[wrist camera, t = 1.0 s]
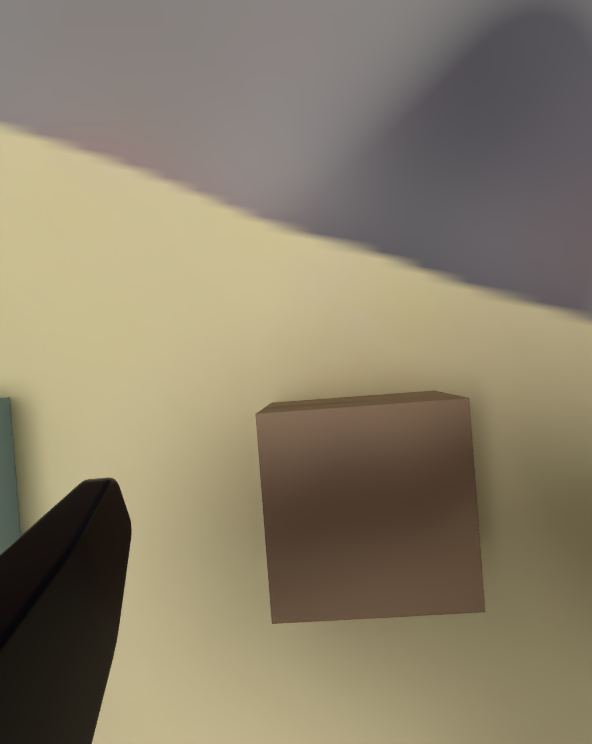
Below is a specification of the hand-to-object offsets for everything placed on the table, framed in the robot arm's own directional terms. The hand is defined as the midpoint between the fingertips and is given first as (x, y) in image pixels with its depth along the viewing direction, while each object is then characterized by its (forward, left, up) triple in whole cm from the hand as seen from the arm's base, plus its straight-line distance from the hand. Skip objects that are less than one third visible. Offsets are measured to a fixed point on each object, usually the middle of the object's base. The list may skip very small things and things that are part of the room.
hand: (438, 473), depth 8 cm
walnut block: (-3, +1, -13) cm, 13 cm away
